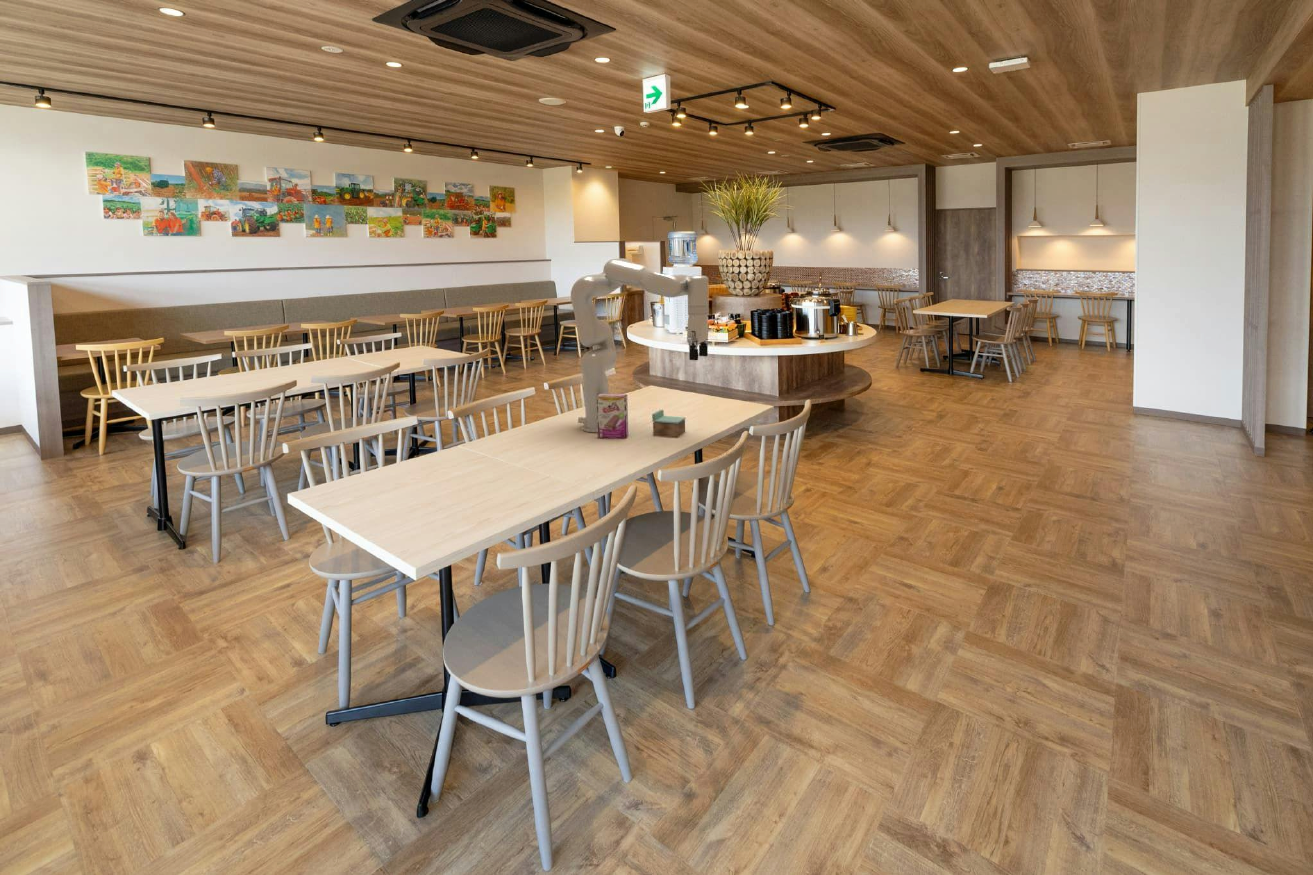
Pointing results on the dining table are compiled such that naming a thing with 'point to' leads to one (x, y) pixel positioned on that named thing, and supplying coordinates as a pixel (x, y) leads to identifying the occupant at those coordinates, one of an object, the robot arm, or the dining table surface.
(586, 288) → the robot arm
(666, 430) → the brown wooden box
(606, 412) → the candy bar box
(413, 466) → the dining table surface
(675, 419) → the lid
